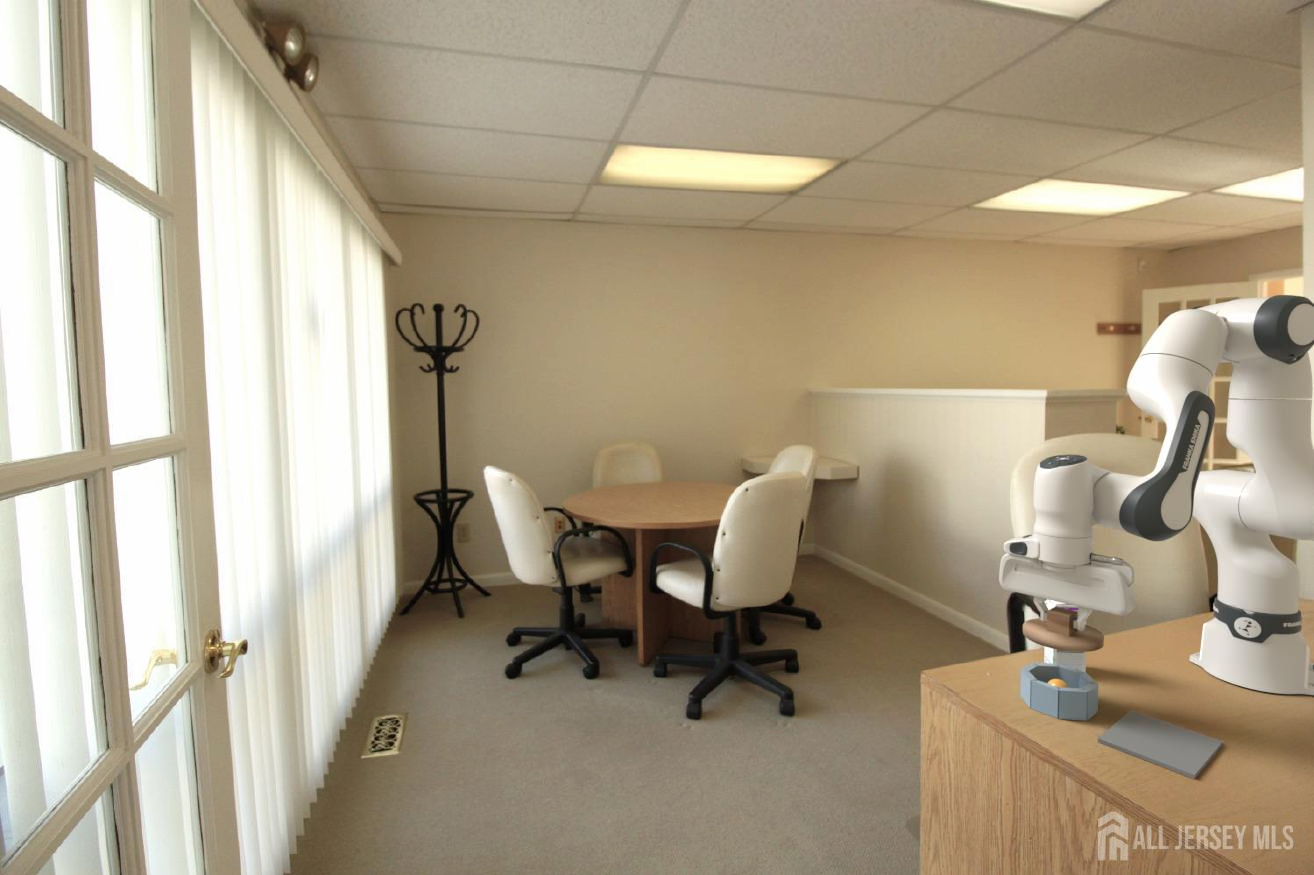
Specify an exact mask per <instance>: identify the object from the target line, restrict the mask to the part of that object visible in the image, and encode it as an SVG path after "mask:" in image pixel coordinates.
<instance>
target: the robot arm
mask: <svg viewBox="0 0 1314 875" xmlns="http://www.w3.org/2000/svg"><path fill="white" fill-rule="evenodd" d="M1313 346H1314V302H1312V300H1310V299H1309V298H1308V297H1305V296H1301V295H1292V294H1277V295H1274V296H1262V297H1261V296H1260V297H1258V296H1257V297H1246V298H1239V299H1238V298H1237V299H1232V300H1229V301H1224V302H1219V303H1214V304H1210V305H1205V306H1194V307H1190V308H1187V309H1182V310H1178V311H1175V312H1173V313H1171V314H1169V315H1168V316H1167V317H1166V318H1165V319H1164V320H1163V321H1162V323H1160V324H1159V325H1158V327H1157V328H1156V329H1155V331H1154V332H1153V334H1152V335H1151V336H1150V338H1149V339H1148V341H1147V342H1146V343H1145V346H1144V347H1143V348H1142V351H1141V352H1140V354H1139V356H1138V358H1137V360H1135V363H1134V365H1133V366H1132V369H1131V370H1130V372H1129V374H1128V375H1129V376H1128V378H1127V381H1126V382H1127V383H1126V392H1127V393H1128V396H1129V398H1130V400H1131V401H1132V402H1133V404H1135V406H1136V407H1137V408H1139V409H1140V410H1142V411H1143V412H1144V413H1145V414H1147V415H1149V416H1151V417H1153V418H1155V419H1157V420H1159V421H1161V422H1163V423H1165V426H1166V432H1165V437H1164V440H1163V442H1162V445H1161V449H1160V451H1159V455H1158V459H1157V462H1156V465H1155V467H1154V469H1153V470H1152V472H1150V473H1148V474H1146V475H1145V476H1140V475H1135V474H1134V475H1133V474H1126V473H1121V472H1116V471H1110V470H1108V469H1104V468H1102V467H1099V466H1097V465H1095V464H1094V463H1093V462H1091V461H1090V459H1089V457H1087V456H1085V455H1080V454H1072V453H1071V454H1059V455H1052V456H1049V457H1047V458H1044V459H1043V460H1041V461H1040V462H1039V463H1038V465H1037V467H1036V470H1035V474H1034V479H1033V491H1032V492H1033V493H1032V498H1033V499H1032V506H1033V510H1034V514H1035V522H1034V524H1033V526H1032V530H1033V531H1032V533H1033V534H1025V535H1021V536H1020V535H1019V536H1017V537H1014V538H1011V539H1008V540H1007V541H1005V542H1004V543H1003V550H1004V552H1005V554H1004V555H1002V557H1001V559H1000V563H999V572H998V573H999V574H998V576H999V578H998V581H999V584H1000V586H1001V587H1002V589H1003V590H1005V591H1009V592H1014V593H1019V594H1023V595H1028V596H1033V603H1034V605H1035V606H1036V608H1037V610H1038V611H1039V613H1040V618H1041V621H1042V622H1047V611H1048V608H1047V606H1046V604H1045V602H1044V601H1046V600H1047V599H1049V600H1053V601H1058V602H1062V603H1066V604H1071V605H1075V606H1078V609H1079V612H1080V613H1082V614H1081V616H1080V617H1079V618H1077V617H1075V618H1074V619H1072V620H1071V624H1072V626H1071V628H1072V629H1074V630H1077V631H1083V630H1084V629H1085V620H1086V621H1087V619H1088V618H1089V616H1090V615H1091V614H1092V613H1093V611H1098V612H1102V613H1107V614H1111V615H1115V616H1120V617H1123V616H1125V615H1127V614H1130V612H1131V611H1133V609H1134V607H1135V599H1134V598H1135V597H1134V589H1133V583H1134V582H1135V569H1134V568H1133V566H1132V565H1131V564H1130V563H1129V562H1127V561H1125V560H1124V559H1123V558H1120V557H1117V556H1114V557H1112V556H1107V555H1105V554H1104V555H1103V554H1097V553H1094V529H1093V526H1094V525H1098V526H1103V527H1104V528H1108V529H1111V530H1112V529H1113V530H1117V531H1121V532H1126V533H1128V534H1130V535H1133V536H1137V537H1139V538H1141V539H1145V540H1147V541H1151V542H1164V541H1167V540H1169V539H1171V538H1174V537H1175V536H1177V535H1179V534H1181V533H1182V532H1183V531H1184V530H1185V529H1186V528H1187V527H1188V526H1189V524H1190V522H1191V520H1192V518H1193V517H1194V519H1196V520H1197V522H1198V523H1199V524H1200V525H1201V526H1202V528H1203V529H1204V530H1205V532H1206V534H1207V535H1208V537H1209V540H1210V542H1211V544H1212V546H1213V549H1214V552H1215V556H1216V561H1217V596H1216V597H1214V602H1213V603H1212V605H1213V607H1212V609H1213V617H1214V618H1212V619H1211V620H1209V621H1206V622H1205V623H1203V625H1202V634H1201V640H1200V651H1198V652H1196V653H1195V652H1194V653H1193V654H1190V655H1189V661H1190V662H1191V663H1192V664H1196V665H1197V666H1199V667H1201V668H1202V669H1204V670H1205V672H1207V673H1208V674H1210V675H1212V676H1214V677H1215V678H1217V679H1220V680H1222V681H1225V682H1227V683H1230V684H1233V685H1236V686H1240V687H1243V688H1246V689H1250V690H1255V691H1259V692H1266V693H1271V694H1272V693H1273V694H1279V695H1280V694H1281V695H1308V696H1314V661H1312V660H1311V661H1310V652H1311V651H1310V650H1311V649H1310V646H1308V645H1307V640H1306V639H1305V638H1304V635H1303V634H1302V632H1301V631H1302V627H1303V626H1302V624H1303V617H1302V612H1301V610H1300V609H1299V604H1300V602H1299V601H1300V586H1301V572H1300V570H1299V567H1298V566H1297V565H1296V564H1295V562H1294V561H1293V560H1292V559H1290V558H1288V557H1287V556H1286V555H1284V553H1282V552H1281V551H1280V550H1278V548H1276V545H1275V544H1274V543H1273V542H1272V539H1271V537H1270V536H1271V535H1272V536H1276V537H1280V538H1281V537H1282V538H1287V539H1292V540H1298V541H1314V446H1313V441H1312V407H1313V388H1314V387H1313V372H1312V364H1311V359H1310V356H1309V355H1310V354H1309V351H1310V350H1311V349H1312V348H1313ZM1220 363H1231V364H1232V366H1233V368H1232V369H1233V370H1232V373H1231V378H1230V383H1229V389H1228V390H1229V391H1228V401H1227V403H1228V404H1227V418H1226V430H1225V431H1226V432H1225V435H1226V438H1227V440H1228V442H1229V443H1230V444H1231V446H1233V447H1234V448H1236V449H1237V450H1239V451H1241V452H1243V453H1244V454H1245V455H1246V456H1247V457H1248V458H1249V459H1250V461H1251V463H1252V464H1253V467H1254V470H1255V472H1252V471H1242V470H1234V469H1233V470H1232V469H1216V470H1212V469H1211V470H1202V466H1203V464H1204V460H1205V457H1206V453H1207V451H1208V446H1209V444H1210V440H1211V437H1212V433H1213V428H1214V425H1215V420H1216V406H1215V403H1214V401H1213V399H1212V398H1211V397H1210V396H1209V395H1208V392H1209V387H1210V384H1211V382H1212V380H1213V378H1214V375H1215V374H1216V372H1217V370H1218V367H1219V365H1220Z"/></svg>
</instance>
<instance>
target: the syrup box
mask: <svg viewBox="0 0 1314 875" xmlns="http://www.w3.org/2000/svg"><path fill="white" fill-rule="evenodd" d="M1044 602H1045V604H1046V606H1047V608H1048V610H1050V609H1052V608H1054V607H1060V608H1064V609H1069V610H1073V611H1077V612H1078V618H1079V617H1080V616H1081V614H1082V613H1080V612H1079V609H1078V606H1075V605H1071V604H1066V603H1062V602H1058V601H1053V600H1049V599H1047V600H1046V601H1044ZM1085 625H1087V619H1086V620H1085ZM1042 663H1051V664H1060V665H1064V666H1067V667H1070V668H1073V669H1076V670H1080V671H1083V672H1085V673H1087V672H1086V671H1087V652H1072V651H1063V650H1057V649H1053V648H1049V647H1045V646H1043V662H1042Z"/></svg>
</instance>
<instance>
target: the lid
mask: <svg viewBox="0 0 1314 875" xmlns="http://www.w3.org/2000/svg"><path fill="white" fill-rule="evenodd" d="M1075 617H1077V618H1078V612H1077V611H1073V610H1069V609H1064V608H1060V607H1054V608H1052V609H1050V610H1048V611H1047V622H1042V621H1041V617H1040V618H1032V619H1028V620H1026V621H1024V622H1023V624H1022V634H1023V636H1024V637H1025V638H1026V639H1027V640H1029V641H1030V642H1032V643H1035V644H1037V645H1040V646H1042V647H1044V646H1045V647H1049V648H1053V649H1057V650H1063V651H1072V652H1086V653H1088V652H1096V651H1098V650H1101V649H1102V648H1104V646H1105V636H1104V633H1102V632H1101V631H1100V630H1099V629H1096V628H1095V627H1093V626H1091V625H1088V624H1086V625H1085V629H1084V630H1083V631H1077V630H1074V629H1072V628H1071V626H1072V624H1071V620H1072V619H1074V618H1075Z"/></svg>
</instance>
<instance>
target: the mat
mask: <svg viewBox="0 0 1314 875" xmlns="http://www.w3.org/2000/svg"><path fill="white" fill-rule="evenodd" d="M1097 743H1100V744H1103V745H1105V746H1107V747H1111V748H1112V749H1115V750H1117V751H1120V752H1122V753H1126V754H1128V755H1131V756H1133V757H1135V758H1139V759H1141V760H1144V761H1147V762H1149V763H1151V764H1154V765H1156V764H1158V765H1157V766H1159V767H1161V768H1164V767H1165V768H1164V769H1167V770H1170V771H1172V772H1175V771H1176V773H1177V772H1179V773H1178V774H1180V773H1181V774H1180V775H1182V774H1183V776H1185V777H1188V778H1190V779H1193V780H1195V779H1196V778H1197V777H1198V776H1199V775H1200V773H1202V771H1203V769H1204V768H1205V767H1206V766H1207V763H1208V764H1209V762H1210V761H1211V760H1212V759H1213V758H1212V757H1215V755H1216V754H1217V753H1218V752H1219V750H1220V749H1221V748H1222V747H1223V746H1224V740H1221V739H1218V738H1215V737H1213V736H1212V737H1211V736H1209V735H1206V734H1202V733H1201V732H1197V731H1194V730H1191V729H1188V728H1185V727H1183V726H1182V727H1181V726H1179V725H1177V724H1173V723H1171V722H1167V721H1165V720H1162V719H1158V718H1155V717H1152V716H1150V715H1147V714H1144V713H1141V712H1138V711H1135V710H1129V711H1128V712H1127V713H1126V714H1124V715H1123V716H1122V717H1121V718H1120V719H1119V720H1118V721H1117V722H1115V723H1114V724H1113V725H1112V726H1111V727H1109V728H1108V729H1107V730H1106V731H1104V732H1103V733H1102V734H1101V735H1100V736H1099V737H1098V738H1097Z"/></svg>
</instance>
